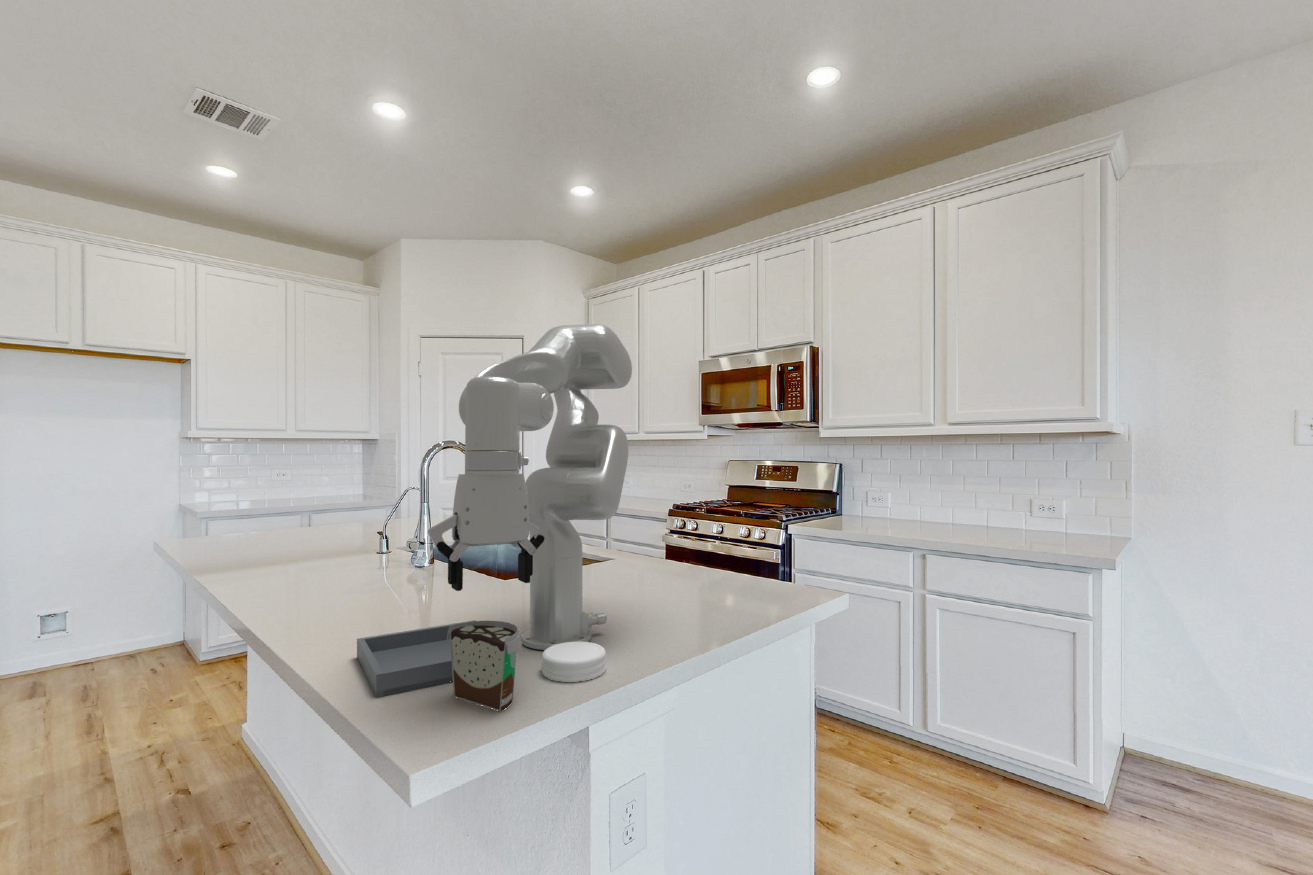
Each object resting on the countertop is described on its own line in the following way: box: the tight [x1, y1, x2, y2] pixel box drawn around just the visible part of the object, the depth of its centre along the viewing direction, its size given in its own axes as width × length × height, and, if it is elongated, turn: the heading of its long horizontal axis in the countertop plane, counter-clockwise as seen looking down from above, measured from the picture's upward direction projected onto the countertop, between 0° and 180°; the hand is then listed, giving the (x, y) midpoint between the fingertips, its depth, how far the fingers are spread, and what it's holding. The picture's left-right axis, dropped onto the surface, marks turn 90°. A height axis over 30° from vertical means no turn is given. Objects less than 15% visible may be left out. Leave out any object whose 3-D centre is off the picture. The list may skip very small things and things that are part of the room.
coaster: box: [541, 641, 607, 683], centre depth 99 cm, size 10×10×4 cm
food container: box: [447, 620, 523, 712], centre depth 89 cm, size 12×6×10 cm, turn 58°
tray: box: [356, 620, 476, 698], centre depth 103 cm, size 20×20×3 cm
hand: (491, 585), depth 88 cm, fingers open, 9 cm apart
